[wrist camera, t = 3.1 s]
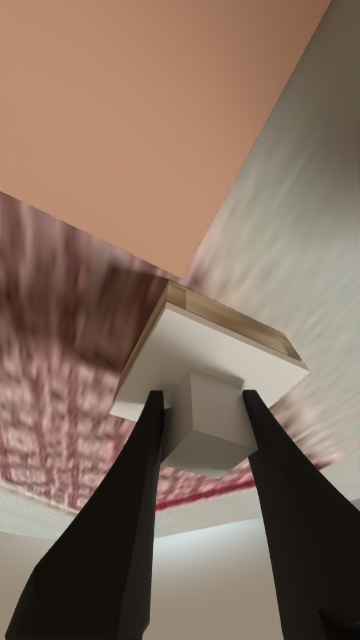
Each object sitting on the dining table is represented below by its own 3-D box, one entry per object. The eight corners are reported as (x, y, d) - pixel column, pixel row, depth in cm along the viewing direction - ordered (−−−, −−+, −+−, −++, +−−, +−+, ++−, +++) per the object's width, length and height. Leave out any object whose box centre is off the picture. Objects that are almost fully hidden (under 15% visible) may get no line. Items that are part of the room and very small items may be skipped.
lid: (297, 353, 12) (353, 434, 8) (220, 427, 16) (232, 506, 12) (167, 293, 10) (158, 362, 6) (115, 394, 14) (89, 475, 10)
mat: (353, -46, 6) (362, -58, 6) (181, 275, 12) (181, 278, 11) (-97, -546, 4) (-124, -617, 3) (-54, 160, 9) (-64, 160, 9)
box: (284, 334, 14) (302, 360, 12) (216, 406, 17) (221, 435, 15) (169, 279, 12) (166, 299, 10) (121, 373, 16) (112, 402, 13)
